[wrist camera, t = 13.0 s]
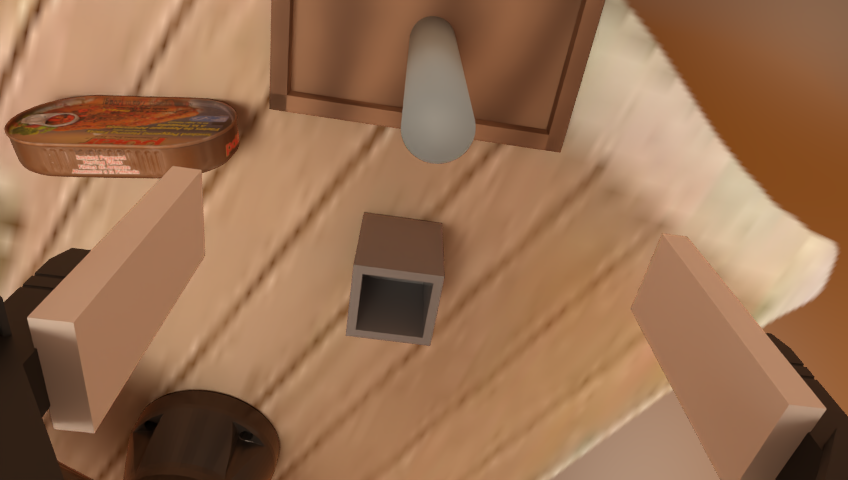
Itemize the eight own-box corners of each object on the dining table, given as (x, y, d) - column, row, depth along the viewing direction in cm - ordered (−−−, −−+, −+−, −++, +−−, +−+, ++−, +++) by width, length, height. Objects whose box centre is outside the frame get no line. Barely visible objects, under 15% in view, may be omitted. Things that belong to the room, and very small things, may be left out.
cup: (356, 277, 51) (345, 335, 44) (364, 212, 48) (353, 264, 41) (429, 286, 52) (430, 345, 45) (442, 223, 48) (444, 276, 41)
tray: (275, 100, 43) (269, 109, 41) (280, -91, 37) (273, -91, 35) (555, 142, 45) (560, 152, 43) (605, -34, 38) (614, -31, 37)
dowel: (406, 59, 41) (396, 158, 25) (413, 12, 39) (406, 86, 24) (451, 66, 41) (467, 168, 25) (459, 20, 39) (482, 98, 24)
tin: (250, 99, 43) (214, 138, 36) (255, 138, 45) (221, 184, 37) (48, 92, 43) (-29, 131, 36) (60, 133, 44) (-11, 178, 37)
